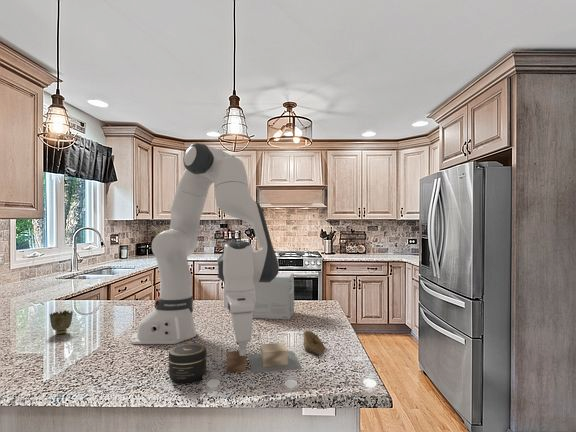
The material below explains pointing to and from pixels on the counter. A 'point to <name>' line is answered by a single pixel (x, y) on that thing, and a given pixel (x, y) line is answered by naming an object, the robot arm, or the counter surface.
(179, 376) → the jar
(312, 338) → the fossil
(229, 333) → the counter surface
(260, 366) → the build plate
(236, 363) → the walnut cube
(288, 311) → the supplement box
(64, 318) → the cup
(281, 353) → the maple base
